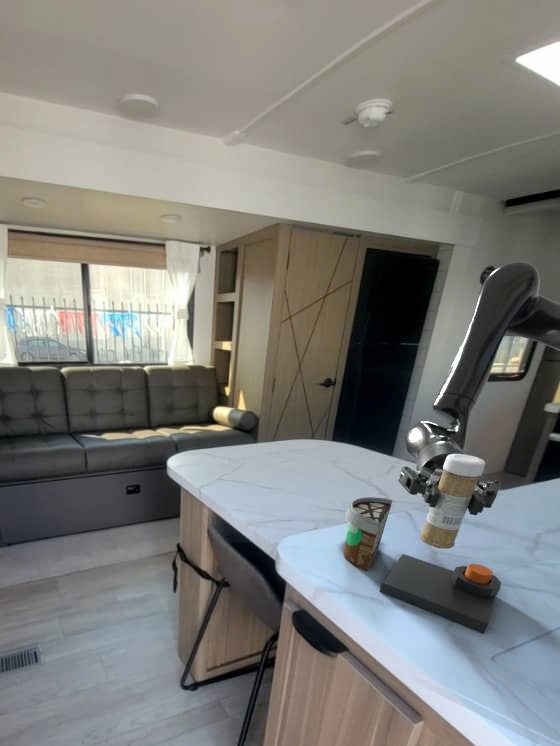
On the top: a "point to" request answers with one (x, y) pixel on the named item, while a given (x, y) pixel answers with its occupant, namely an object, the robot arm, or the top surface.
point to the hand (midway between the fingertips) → (455, 504)
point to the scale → (442, 591)
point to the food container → (365, 530)
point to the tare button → (478, 573)
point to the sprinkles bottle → (452, 499)
